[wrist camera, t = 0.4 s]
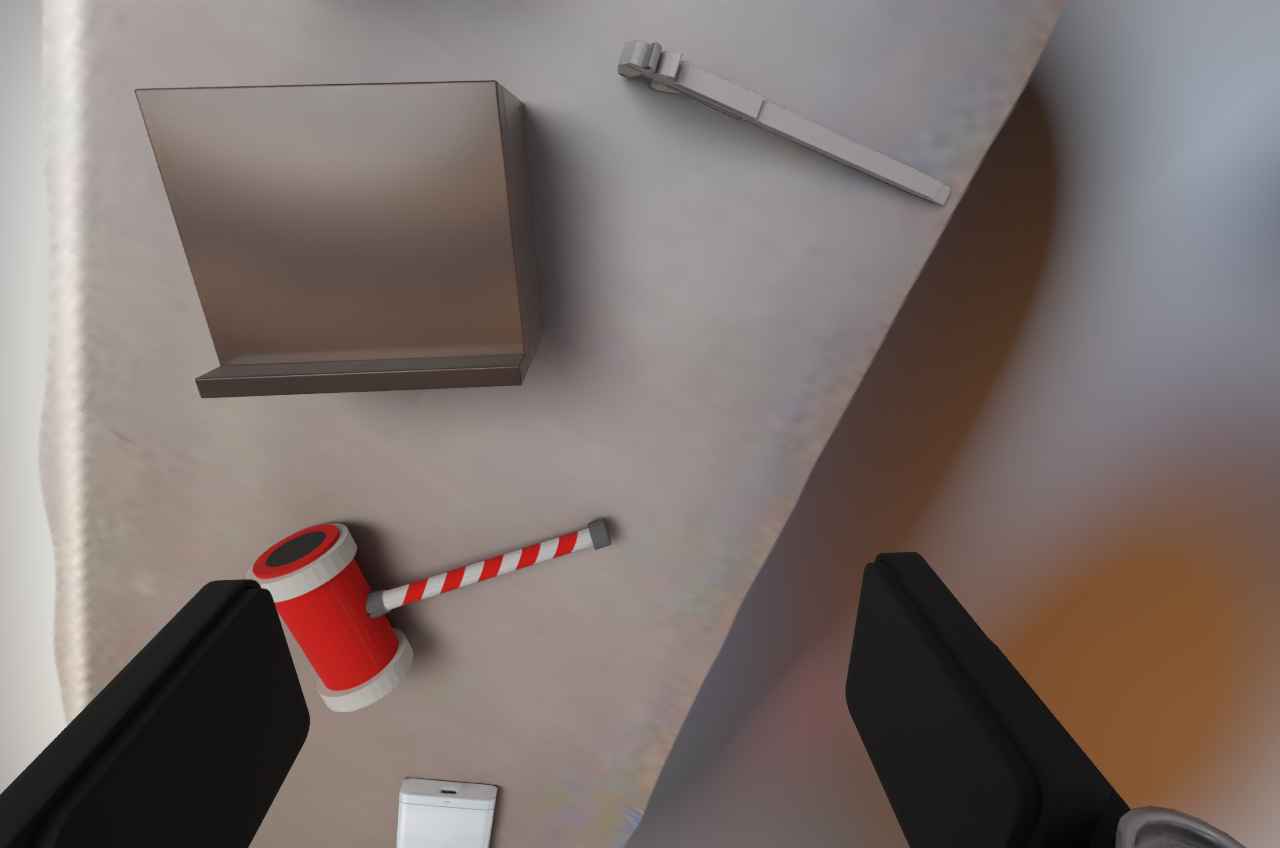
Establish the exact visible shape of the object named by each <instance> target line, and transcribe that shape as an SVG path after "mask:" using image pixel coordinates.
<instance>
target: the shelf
mask: <svg viewBox="0 0 1280 848" xmlns="http://www.w3.org/2000/svg"><path fill="white" fill-rule="evenodd" d="M135 94H136V97H137V100H138V103H139V106H140V110H141V113H142V116H143V119H144V122H145V126H146V129H147V132H148V135H149V138H150V142H151V145H152V148H153V151H154V154H155V158H156V161H157V164H158V167H159V170H160V174H161V177H162V180H163V183H164V186H165V190H166V193H167V196H168V199H169V202H170V206H171V209H172V212H173V215H174V218H175V222H176V225H177V228H178V231H179V234H180V238H181V241H182V244H183V247H184V250H185V254H186V257H187V260H188V263H189V266H190V270H191V273H192V276H193V279H194V282H195V286H196V289H197V292H198V295H199V298H200V302H201V305H202V308H203V311H204V314H205V318H206V321H207V324H208V327H209V330H210V334H211V337H212V340H213V343H214V346H215V350H216V353H217V356H218V359H219V362H220V367H218V368H216V369H214V370H212V371H210V372H208V373H206V374H204V375H202V376H200V377H198V378H196V379H195V381H196V384H197V387H198V390H199V393H200V396H201V398H221V397H245V396H269V395H293V394H318V393H342V392H366V391H391V390H415V389H439V388H464V387H488V386H512V385H522V383H523V380H524V378H525V375H526V373H527V370H528V368H529V366H530V363H531V361H532V359H533V356H534V354H535V351H536V349H537V346H538V344H539V342H540V339H541V337H542V334H543V328H542V317H541V306H540V296H539V285H538V274H537V263H536V252H535V241H534V230H533V219H532V208H531V198H530V187H529V176H528V165H527V154H526V143H525V132H524V121H523V110H522V102H521V101H520V100H519V99H518V98H517V97H515V96H514V95H513V94H512V93H510V92H509V91H508V90H507V89H506V88H504V87H503V86H502V85H501V84H499V83H498V82H497V81H495V80H491V81H448V82H406V83H364V84H321V85H279V86H237V87H195V88H152V89H135Z"/></svg>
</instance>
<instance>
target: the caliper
mask: <svg viewBox="0 0 1280 848" xmlns="http://www.w3.org/2000/svg"><path fill="white" fill-rule="evenodd" d="M661 50H662V48H661V45H660V44H659V43H657V42H655V43H652V44H650V45H649V44H647V43H645V42H642V41H640V40H638V39H637V40H634V41H630V42H627V43H625V45H624V49H623V52H622V56H621V59H620V62H619V67H618V74H620V75H621V76H624V77H626V78H627V77H633V76H640V75H645V76H647V77H649V78H651V80H650V84H649V87H648V88H651V89H654V90H658V91H664V92H671V93H678V94H685V95H687V96H689V97H692V98H694V99H696V100H697V101H699V102H701V103H703V104H705V105H707V106H709V107H711V108H713V109H716V110H718V111H721V112H723V113H725V114H727V115H729V116H731V117H733V118H736V119H744V120H746V121H748V122H751V123H753V124H755V125H757V126H760V127H762V128H764V129H767V130H769V131H771V132H773V133H776V134H778V135H780V136H782V137H785V138H787V139H789V140H791V141H794V142H796V143H798V144H800V145H803V146H805V147H807V148H810V149H812V150H814V151H816V152H819V153H821V154H823V155H825V156H828V157H830V158H832V159H834V160H837V161H839V162H841V163H843V164H846V165H848V166H850V167H852V168H855V169H857V170H859V171H861V172H864V173H866V174H868V175H870V176H873V177H875V178H877V179H879V180H882V181H884V182H886V183H888V184H891V185H893V186H895V187H897V188H900V189H902V190H904V191H906V192H909V193H911V194H913V195H915V196H918V197H922V198H926V199H928V200H930V201H933V202H935V203H937V204H939V205H942V206H944V204H945V202H946V200H947V198H948V196H949V194H950V192H951V190H952V189H951V188H950V187H948V186H946V185H944V184H942V182H941V181H939V180H937V179H935V178H933V177H931V176H929V175H926V174H924V173H922V172H920V171H918V170H916V169H913V168H911V167H909V166H907V165H905V164H903V163H900V162H898V161H896V160H894V159H892V158H890V157H887V156H885V155H883V154H881V153H879V152H877V151H874V150H872V149H870V148H868V147H866V146H864V145H861V144H859V143H857V142H855V141H853V140H851V139H848V138H846V137H844V136H842V135H840V134H838V133H835V132H833V131H831V130H829V129H827V128H825V127H822V126H820V125H818V124H816V123H814V122H812V121H809V120H807V119H805V118H803V117H801V116H799V115H796V114H794V113H792V112H790V111H788V110H786V109H783V108H781V107H779V106H777V105H775V104H773V103H770V102H768V101H766V100H764V97H762V96H759V95H757V94H755V93H753V92H751V91H749V90H747V89H744V88H742V87H740V86H738V85H736V84H734V83H732V82H729V81H727V80H725V79H723V78H721V77H719V76H717V75H714V74H712V73H710V72H708V71H706V70H704V69H702V68H699V67H697V66H695V65H693V64H691V63H689V62H686V61H680V60H681V57H682V54H680V53H676V52H670V51H663V52H661Z"/></svg>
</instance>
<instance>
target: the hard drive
mask: <svg viewBox="0 0 1280 848" xmlns="http://www.w3.org/2000/svg"><path fill="white" fill-rule="evenodd" d="M496 794H497V787H495V786H492V785H483V784H472V783H460V782H447V781H436V780H426V779H415V778H408V779H404V780H403V783H402V786H401V788H400V793H399V812H398V827H397V843H396V848H489V843H490V836H491V829H492V822H493V815H494V808H495V801H496Z"/></svg>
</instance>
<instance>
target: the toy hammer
mask: <svg viewBox="0 0 1280 848" xmlns="http://www.w3.org/2000/svg"><path fill="white" fill-rule="evenodd" d="M609 545H611V542H610V538H609V534H608V531H607V527H606V524H605V521H604V519H601V520H598V521H594V522H591V523H588V528H587V529H584V530H580V531H577V532H574V533H571V534H568V535H564V536H561V537H558V538H555V539H552V540H548V541H545V542H542V543H539V544H536V545H532V546H529V547H526V548H523V549H519V550H516V551H513V552H510V553H507V554H503V555H500V556H497V557H494V558H491V559H487V560H484V561H481V562H478V563H475V564H471V565H468V566H465V567H462V568H459V569H455V570H452V571H449V572H446V573H443V574H439V575H436V576H433V577H430V578H426V579H423V580H420V581H417V582H414V583H410V584H407V585H404V586H401V587H397V588H394V589H391V590H388V591H387V590H379V591H371V589H370V587H369V585H368V583H367V581H366V580H365V578H364V576H363V574H362V572H361V570H360V569H359V567H358V565H357V563H356V561H355V559H354V556H355V554H356V551H357V545H356V544H355V542H354V540H353V538H352V536H351V534H350V532H349V531H348V529H347V527H346V526H345V525H343V524H339V523H330V524H324V525H318V526H314V527H310V528H307V529H305V530H302V531H300V532H297V533H295V534H293V535H291V536H289V537H287V538H285V539H283V540H281V541H280V542H278V543H277V544H275V545H273V546H272V547H271V548H269V549H268V550H267V551H265V552H264V553H263V554H262V555H261V556H260V557H259V558H258V559H257V560H256V561H255V562H254V563H253V564H252V565H251V566H250V568H249V570H248V571H247V574H246V579H252V580H256V581H257V582H258V583H259V584H260V586H261V588H265V589H268V590H269V591H270V592H271V595H272V597H273V600H274V603H275V606H276V609H277V611H278V612H279V614H280V616H281V617H282V619H283V620H284V622H285V623H286V625H287V627H288V628H289V630H290V631H291V633H292V634H293V636H294V638H295V639H296V641H297V642H298V644H299V645H300V647H301V649H302V650H303V652H304V653H305V655H306V657H307V658H308V660H309V661H310V663H311V664H312V666H313V668H314V669H315V671H316V672H317V674H318V677H317V680H316V688H317V691H318V692H319V694H320V695H321V697H322V699H323V700H324V702H325V703H326V705H327V706H328V707H329V708H330V709H331V710H333V711H336V712H350V711H354V710H358V709H361V708H363V707H366V706H368V705H370V704H372V703H374V702H376V701H378V700H379V699H381V698H382V697H384V696H385V695H386V694H388V693H389V692H390V691H391V690H393V689H394V688H395V687H396V686H397V685H398V684H399V683H400V682H401V681H402V679H403V678H404V677H405V676H406V674H407V673H408V671H409V669H410V667H411V665H412V662H413V657H414V654H413V650H412V648H411V646H410V644H409V642H408V640H407V638H406V637H405V635H404V633H403V632H402V631H401V630H399V629H396V628H392V627H391V625H390V624H389V622H388V620H387V618H386V616H385V613H387V612H390V611H391V609H393V608H396V607H399V606H403V605H406V604H409V603H412V602H415V601H418V600H422V599H425V598H428V597H431V596H434V595H438V594H441V593H444V592H447V591H450V590H454V589H457V588H460V587H463V586H466V585H470V584H473V583H476V582H479V581H482V580H485V579H489V578H492V577H495V576H498V575H501V574H505V573H508V572H511V571H514V570H517V569H521V568H524V567H527V566H530V565H533V564H537V563H540V562H543V561H546V560H549V559H553V558H556V557H559V556H562V555H565V554H568V553H572V552H575V551H578V550H581V549H584V548H588V547H591V546H594V548H595V550H596V549H599V548H603V547H606V546H609Z"/></svg>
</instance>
